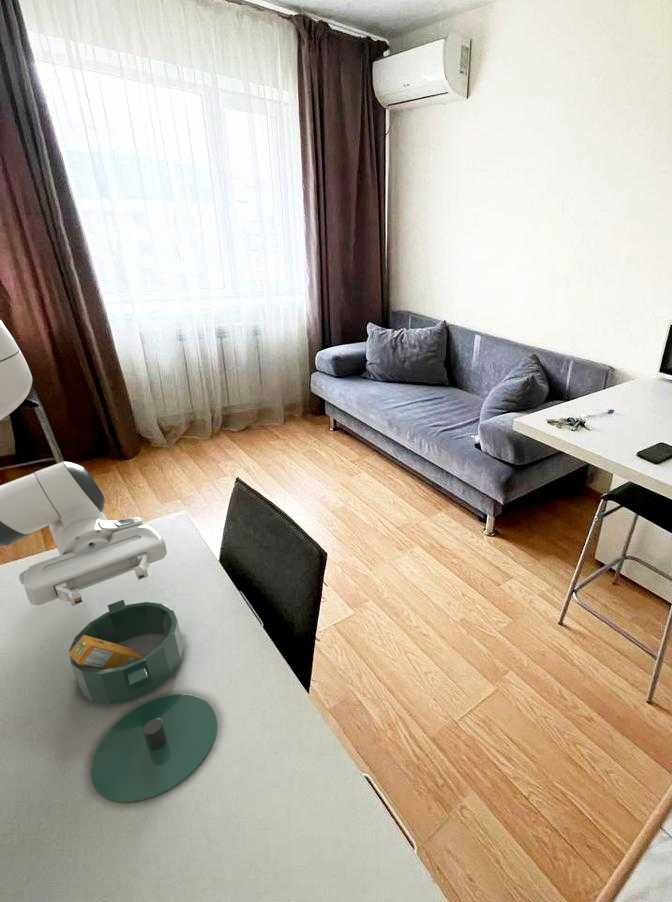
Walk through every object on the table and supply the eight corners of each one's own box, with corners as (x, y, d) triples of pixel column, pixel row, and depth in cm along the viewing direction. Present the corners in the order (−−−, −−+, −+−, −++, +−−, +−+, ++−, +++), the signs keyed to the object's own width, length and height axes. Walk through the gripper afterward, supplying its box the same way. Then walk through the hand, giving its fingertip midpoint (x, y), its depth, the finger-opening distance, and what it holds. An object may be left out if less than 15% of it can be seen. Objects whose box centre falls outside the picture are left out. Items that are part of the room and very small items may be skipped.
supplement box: (119, 668, 82) (66, 653, 74) (134, 649, 83) (84, 631, 76) (129, 678, 80) (75, 663, 72) (144, 658, 81) (94, 641, 74)
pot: (90, 739, 71) (77, 704, 68) (74, 650, 85) (63, 617, 82) (198, 686, 80) (191, 653, 77) (168, 613, 94) (161, 582, 90)
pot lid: (102, 834, 61) (93, 812, 59) (85, 737, 71) (77, 716, 70) (232, 757, 70) (228, 736, 68) (200, 681, 81) (196, 661, 79)
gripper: (11, 557, 82) (24, 602, 73) (148, 513, 95) (173, 547, 86) (22, 586, 84) (36, 633, 75) (154, 540, 98) (179, 576, 89)
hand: (110, 587), depth 81 cm, fingers open, 8 cm apart
